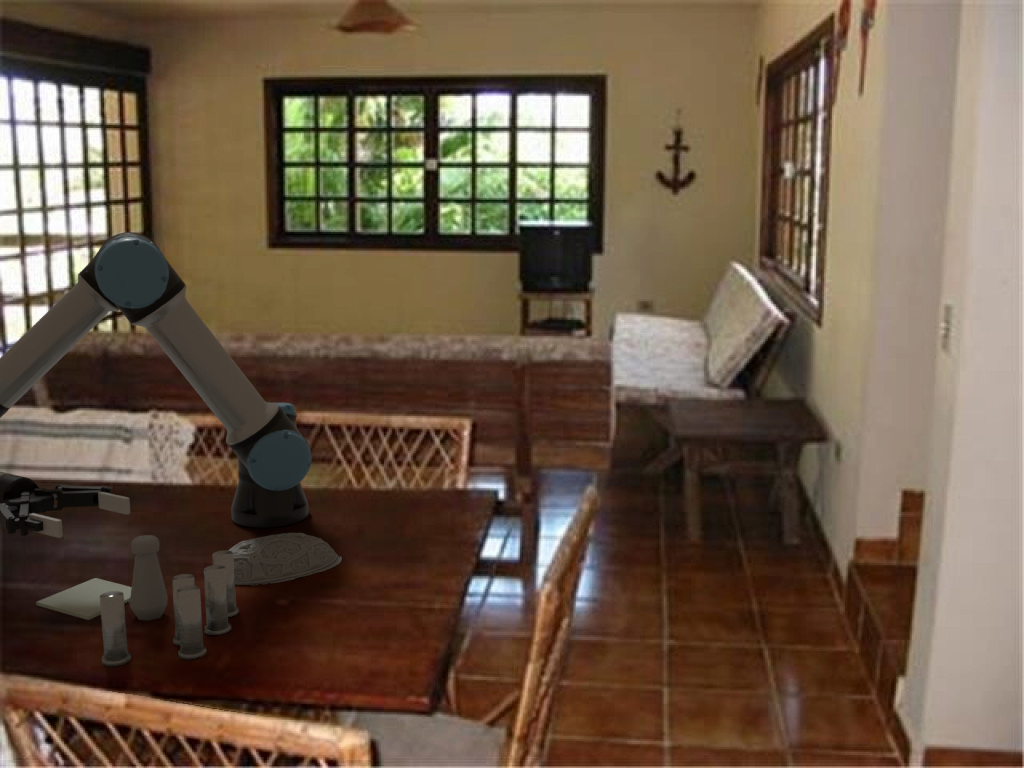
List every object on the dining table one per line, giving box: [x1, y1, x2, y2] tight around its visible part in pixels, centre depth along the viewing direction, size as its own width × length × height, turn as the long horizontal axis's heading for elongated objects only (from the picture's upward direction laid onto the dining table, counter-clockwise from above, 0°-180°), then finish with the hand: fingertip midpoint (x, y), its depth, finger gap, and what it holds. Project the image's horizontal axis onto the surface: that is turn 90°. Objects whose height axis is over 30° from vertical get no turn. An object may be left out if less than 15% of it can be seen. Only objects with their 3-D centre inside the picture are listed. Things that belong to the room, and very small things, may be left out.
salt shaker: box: [129, 534, 168, 622], centre depth 180 cm, size 6×6×13 cm
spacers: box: [100, 549, 240, 667], centre depth 172 cm, size 21×17×10 cm
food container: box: [227, 532, 343, 586], centre depth 202 cm, size 16×25×7 cm, turn 120°
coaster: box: [35, 577, 132, 621], centre depth 188 cm, size 12×12×1 cm
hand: (95, 517), depth 183 cm, fingers open, 13 cm apart
